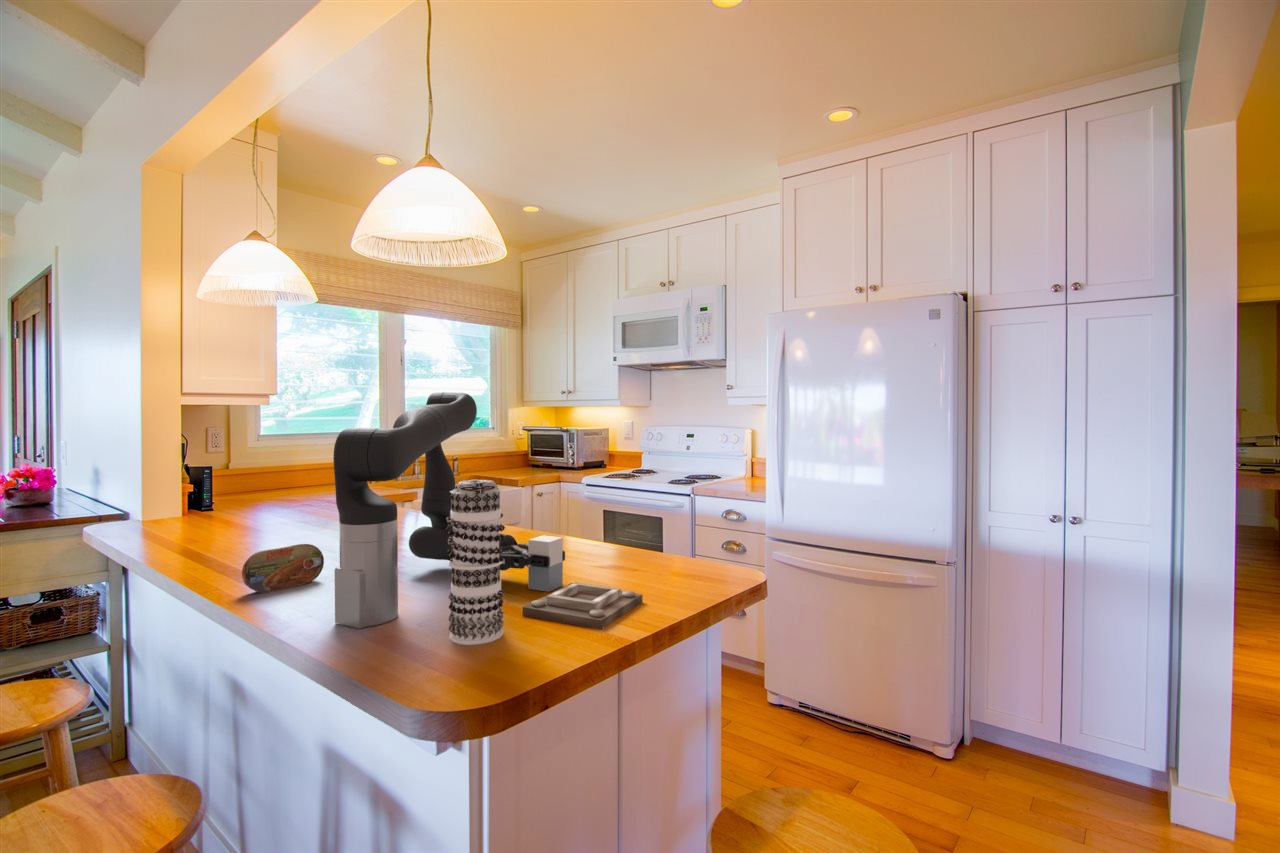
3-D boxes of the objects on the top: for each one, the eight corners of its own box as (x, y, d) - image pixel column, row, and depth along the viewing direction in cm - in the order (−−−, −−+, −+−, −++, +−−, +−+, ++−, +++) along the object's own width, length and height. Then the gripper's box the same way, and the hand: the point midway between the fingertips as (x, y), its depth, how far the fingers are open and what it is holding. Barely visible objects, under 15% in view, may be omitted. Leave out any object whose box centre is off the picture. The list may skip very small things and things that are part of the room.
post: (548, 591, 121) (548, 542, 121) (528, 588, 123) (528, 539, 123) (562, 585, 125) (562, 537, 125) (542, 582, 127) (542, 535, 127)
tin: (246, 597, 118) (245, 554, 118) (239, 594, 120) (239, 552, 119) (325, 580, 130) (324, 541, 129) (318, 577, 132) (317, 539, 131)
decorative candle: (444, 629, 100) (443, 479, 100) (500, 622, 104) (500, 477, 103) (448, 649, 92) (447, 485, 91) (510, 640, 95) (509, 482, 95)
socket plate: (601, 629, 100) (601, 611, 100) (522, 615, 107) (522, 598, 107) (642, 602, 115) (642, 586, 115) (570, 591, 122) (570, 576, 122)
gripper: (467, 539, 124) (536, 547, 116) (511, 527, 137) (575, 534, 129) (467, 575, 124) (536, 586, 116) (511, 560, 137) (575, 569, 129)
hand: (556, 559), depth 123 cm, fingers closed on post, 5 cm apart
